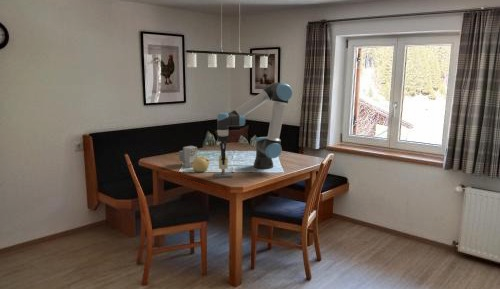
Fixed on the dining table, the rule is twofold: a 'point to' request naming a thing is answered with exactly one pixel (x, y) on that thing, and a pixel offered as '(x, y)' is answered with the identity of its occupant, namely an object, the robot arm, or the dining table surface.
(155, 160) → the dining table surface
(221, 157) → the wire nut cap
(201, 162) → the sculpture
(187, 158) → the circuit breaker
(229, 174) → the grey plate with rod
